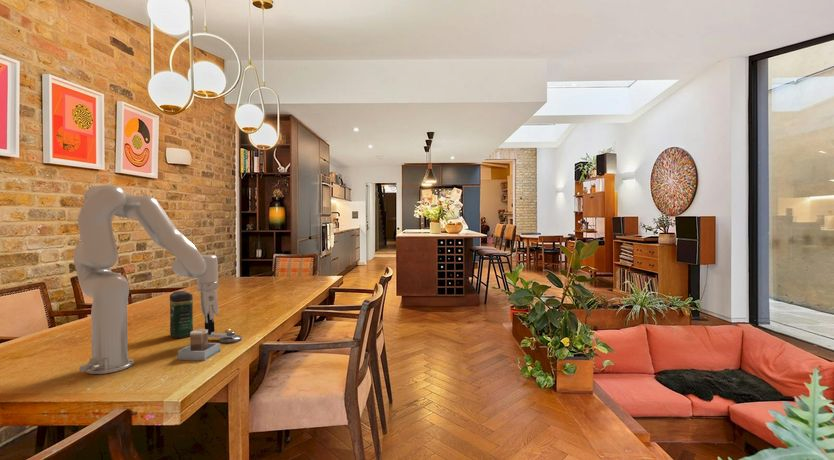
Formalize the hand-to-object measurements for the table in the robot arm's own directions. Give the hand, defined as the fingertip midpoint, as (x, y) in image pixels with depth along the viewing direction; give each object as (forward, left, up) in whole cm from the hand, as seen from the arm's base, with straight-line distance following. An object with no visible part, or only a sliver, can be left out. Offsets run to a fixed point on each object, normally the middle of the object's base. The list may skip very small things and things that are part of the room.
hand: (209, 331), depth 164 cm
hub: (+3, -7, -4) cm, 9 cm away
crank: (+3, -3, -3) cm, 5 cm away
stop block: (-15, -5, -3) cm, 16 cm away
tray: (-15, -5, -4) cm, 16 cm away
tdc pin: (+8, -3, -4) cm, 10 cm away
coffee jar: (+8, +17, -4) cm, 19 cm away
